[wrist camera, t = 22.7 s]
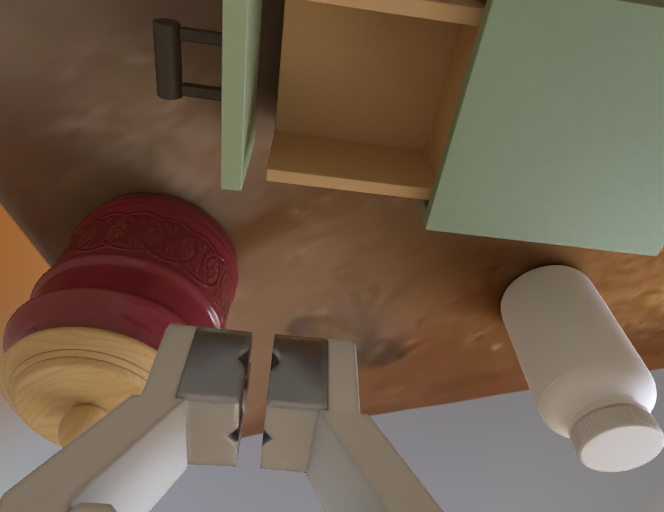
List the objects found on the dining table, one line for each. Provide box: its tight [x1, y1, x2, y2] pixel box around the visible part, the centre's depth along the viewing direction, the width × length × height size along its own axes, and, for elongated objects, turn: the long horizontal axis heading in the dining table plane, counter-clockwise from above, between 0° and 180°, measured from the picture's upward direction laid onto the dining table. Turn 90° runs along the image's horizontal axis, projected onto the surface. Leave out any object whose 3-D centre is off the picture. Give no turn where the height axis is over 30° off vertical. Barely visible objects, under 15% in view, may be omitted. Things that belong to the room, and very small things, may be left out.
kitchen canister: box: [0, 193, 238, 448], centre depth 35 cm, size 13×13×18 cm
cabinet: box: [416, 0, 664, 256], centre depth 30 cm, size 15×13×9 cm
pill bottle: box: [501, 265, 664, 472], centre depth 38 cm, size 8×8×15 cm
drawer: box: [153, 0, 487, 200], centre depth 29 cm, size 18×12×7 cm
